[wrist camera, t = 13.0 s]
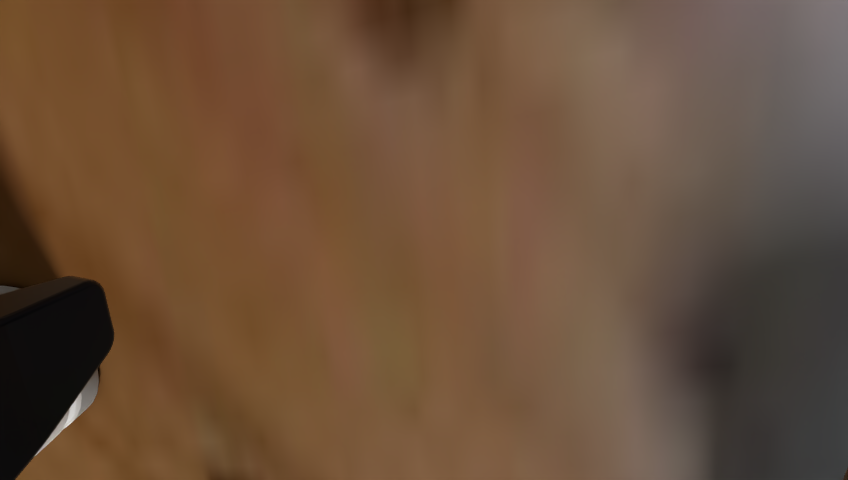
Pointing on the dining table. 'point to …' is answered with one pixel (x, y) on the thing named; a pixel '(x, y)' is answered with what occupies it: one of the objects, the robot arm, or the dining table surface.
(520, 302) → the dining table surface
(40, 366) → the robot arm
